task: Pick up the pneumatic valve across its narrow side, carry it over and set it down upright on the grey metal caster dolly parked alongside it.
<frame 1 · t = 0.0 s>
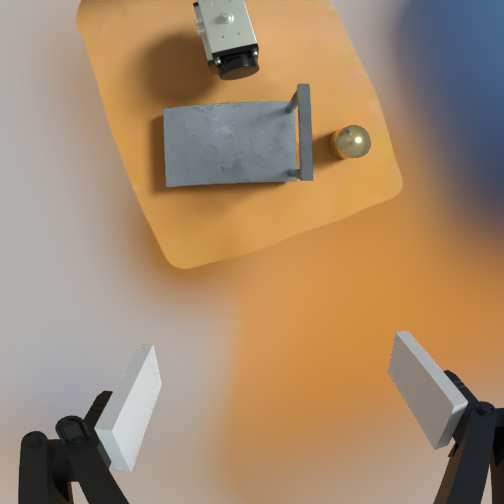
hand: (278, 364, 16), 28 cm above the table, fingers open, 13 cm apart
pneumatic valve: (228, 53, 37), on the table
dolly: (230, 144, 40), on the table
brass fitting: (343, 144, 40), on the table
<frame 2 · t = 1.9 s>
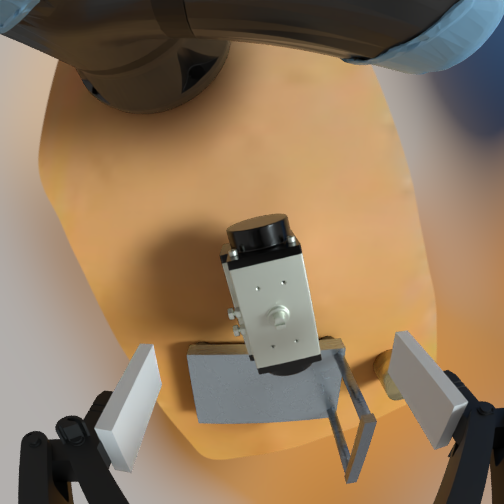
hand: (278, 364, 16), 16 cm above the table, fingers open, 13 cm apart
pneumatic valve: (264, 266, 31), on the table
dolly: (266, 375, 35), on the table
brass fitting: (388, 362, 35), on the table
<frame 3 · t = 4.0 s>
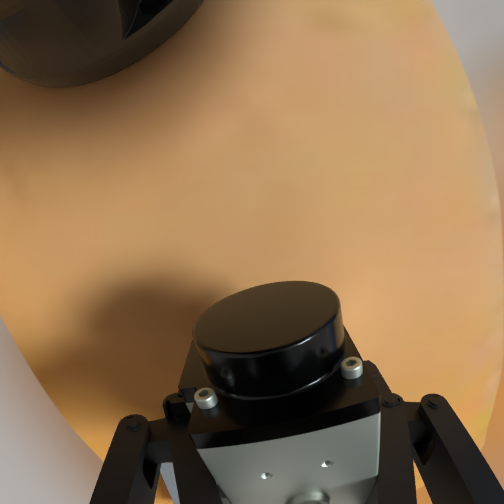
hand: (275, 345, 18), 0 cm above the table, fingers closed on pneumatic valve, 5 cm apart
pneumatic valve: (273, 340, 18), on the table, touching gripper
dolly: (272, 470, 21), on the table
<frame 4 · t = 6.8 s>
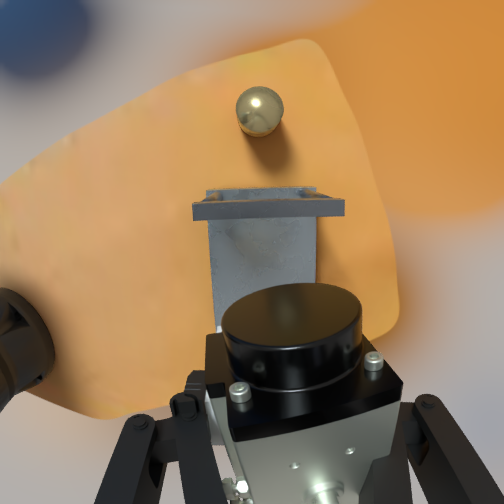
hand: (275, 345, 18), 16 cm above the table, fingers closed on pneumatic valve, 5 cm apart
pneumatic valve: (264, 341, 19), point 15 cm above the table, touching gripper
dolly: (262, 264, 33), on the table
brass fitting: (257, 117, 30), on the table
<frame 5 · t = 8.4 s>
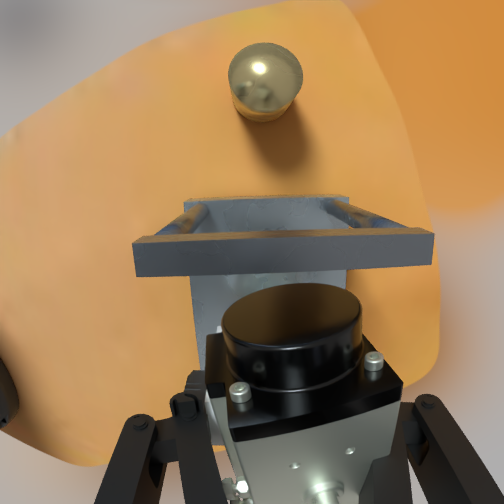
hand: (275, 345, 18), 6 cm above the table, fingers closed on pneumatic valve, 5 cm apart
pneumatic valve: (264, 341, 19), point 5 cm above the table, touching gripper
dolly: (267, 303, 24), on the table
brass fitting: (261, 94, 20), on the table
when the fingers open (5 cm above the table, at t = 9.4 s): pneumatic valve stays where it is, resting on dolly.
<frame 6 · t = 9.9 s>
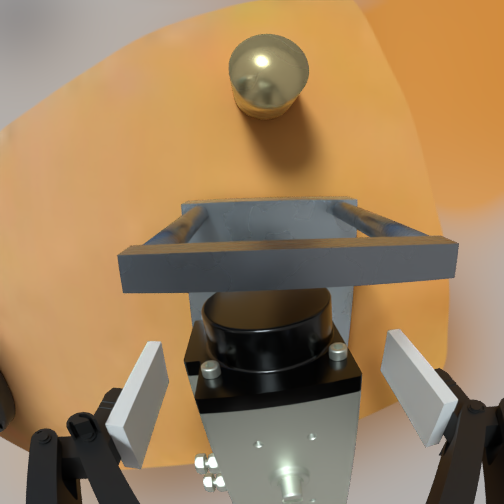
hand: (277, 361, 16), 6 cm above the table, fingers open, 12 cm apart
pneumatic valve: (260, 334, 20), point 3 cm above the table, touching dolly
dolly: (269, 310, 22), on the table
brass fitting: (264, 90, 19), on the table
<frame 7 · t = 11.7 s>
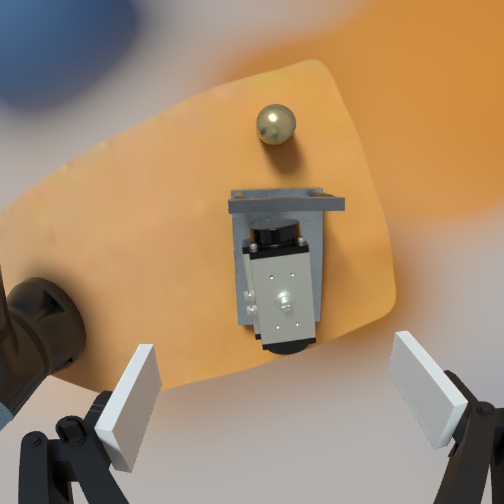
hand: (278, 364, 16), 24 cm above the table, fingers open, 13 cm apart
pneumatic valve: (272, 262, 36), point 3 cm above the table, touching dolly
dolly: (277, 253, 39), on the table
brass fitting: (273, 128, 35), on the table
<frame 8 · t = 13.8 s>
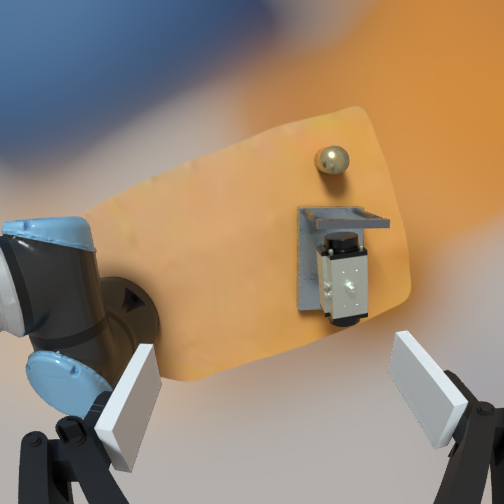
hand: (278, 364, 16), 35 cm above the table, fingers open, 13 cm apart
pneumatic valve: (326, 262, 48), point 3 cm above the table, touching dolly
dolly: (326, 255, 51), on the table
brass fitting: (327, 160, 47), on the table
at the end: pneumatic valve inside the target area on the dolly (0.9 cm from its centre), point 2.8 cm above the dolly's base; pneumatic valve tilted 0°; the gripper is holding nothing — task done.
